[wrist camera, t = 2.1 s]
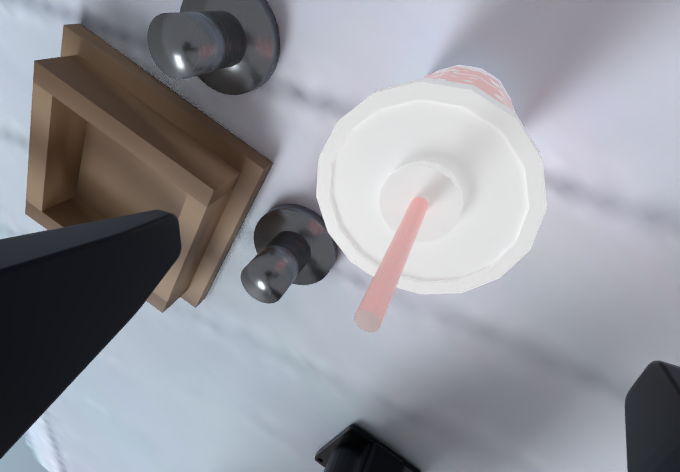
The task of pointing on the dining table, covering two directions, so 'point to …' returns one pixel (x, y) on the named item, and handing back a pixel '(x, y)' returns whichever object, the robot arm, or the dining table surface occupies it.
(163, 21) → the knob
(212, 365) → the dining table surface
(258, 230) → the knob
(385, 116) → the beverage cup
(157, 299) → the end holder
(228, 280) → the dining table surface
